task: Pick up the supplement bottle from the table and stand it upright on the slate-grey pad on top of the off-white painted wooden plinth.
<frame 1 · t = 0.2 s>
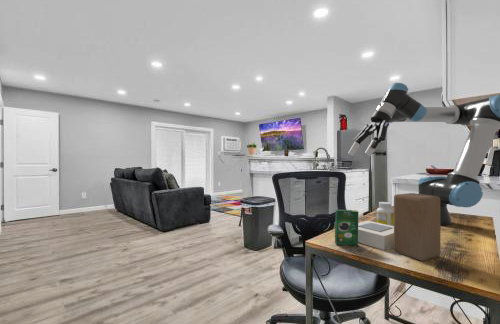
hand: (358, 154, 109), 34 cm above the table, tool tilted 35°, fingers open, 13 cm apart
supplement bottle: (385, 231, 109), on the table
coffee box: (346, 245, 92), on the table
plinth: (374, 239, 97), on the table
block: (416, 254, 82), on the table
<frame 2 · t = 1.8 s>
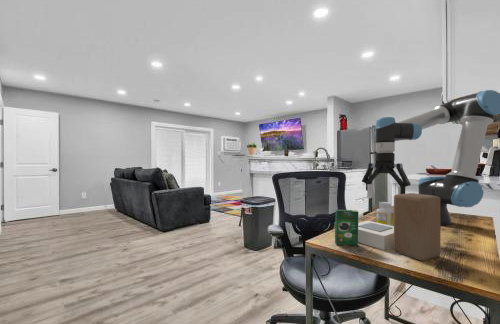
hand: (384, 200, 109), 14 cm above the table, tool pointing down, fingers open, 13 cm apart
nothing on the table moved.
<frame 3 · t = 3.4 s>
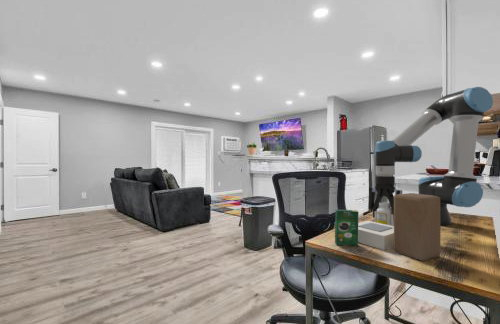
hand: (385, 226, 109), 2 cm above the table, tool pointing down, fingers closed on supplement bottle, 7 cm apart
supplement bottle: (385, 231, 109), on the table, touching gripper
everything else where it was.
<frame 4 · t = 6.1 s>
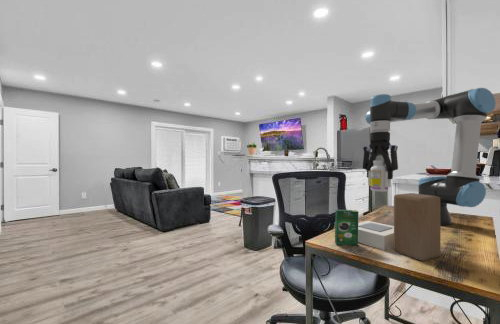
hand: (379, 186, 104), 21 cm above the table, tool pointing down, fingers closed on supplement bottle, 7 cm apart
supplement bottle: (379, 191, 104), point 19 cm above the table, touching gripper
everything else where it was.
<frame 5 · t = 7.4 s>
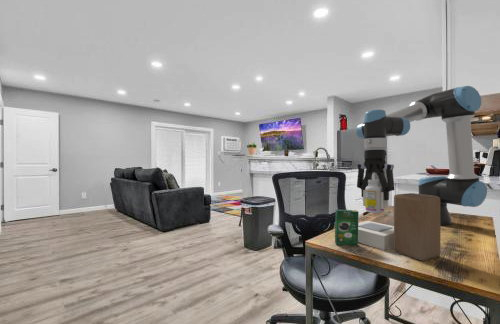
hand: (374, 207, 97), 13 cm above the table, tool pointing down, fingers closed on supplement bottle, 7 cm apart
supplement bottle: (374, 212, 97), point 11 cm above the table, touching gripper
everything else where it was.
when the fingers open (8 cm above the table, at t = 8.7 s): supplement bottle drops 1 cm, resting on plinth.
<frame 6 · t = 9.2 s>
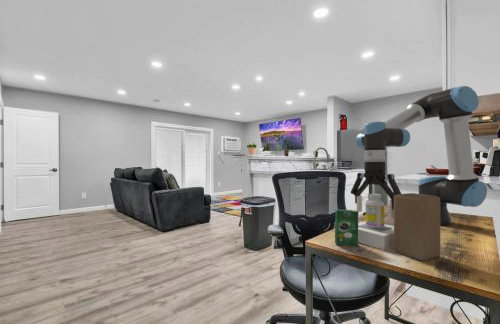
hand: (374, 214, 97), 10 cm above the table, tool pointing down, fingers open, 13 cm apart
supplement bottle: (374, 227, 97), point 5 cm above the table, touching plinth
everything else where it was.
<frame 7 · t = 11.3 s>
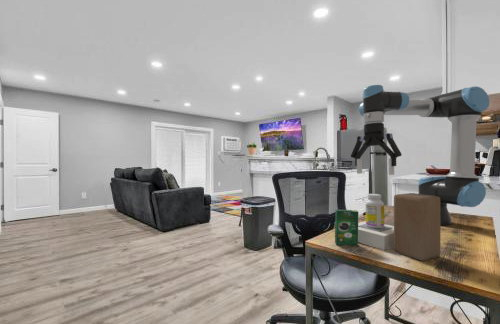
hand: (374, 174, 102), 26 cm above the table, tool pointing down, fingers open, 13 cm apart
nothing on the table moved.
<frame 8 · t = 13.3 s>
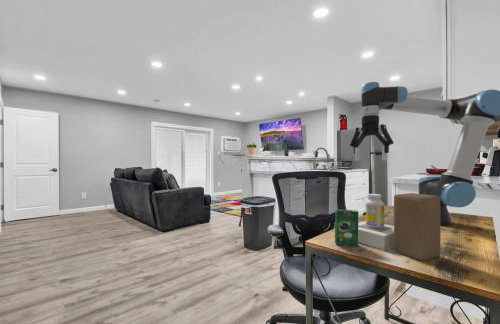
hand: (370, 160, 116), 32 cm above the table, tool pointing down, fingers open, 13 cm apart
nothing on the table moved.
at the end: supplement bottle inside the target area on the plinth (0.0 cm from its centre), point 5.1 cm above the plinth's base; supplement bottle tilted 0°; the gripper is holding nothing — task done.
